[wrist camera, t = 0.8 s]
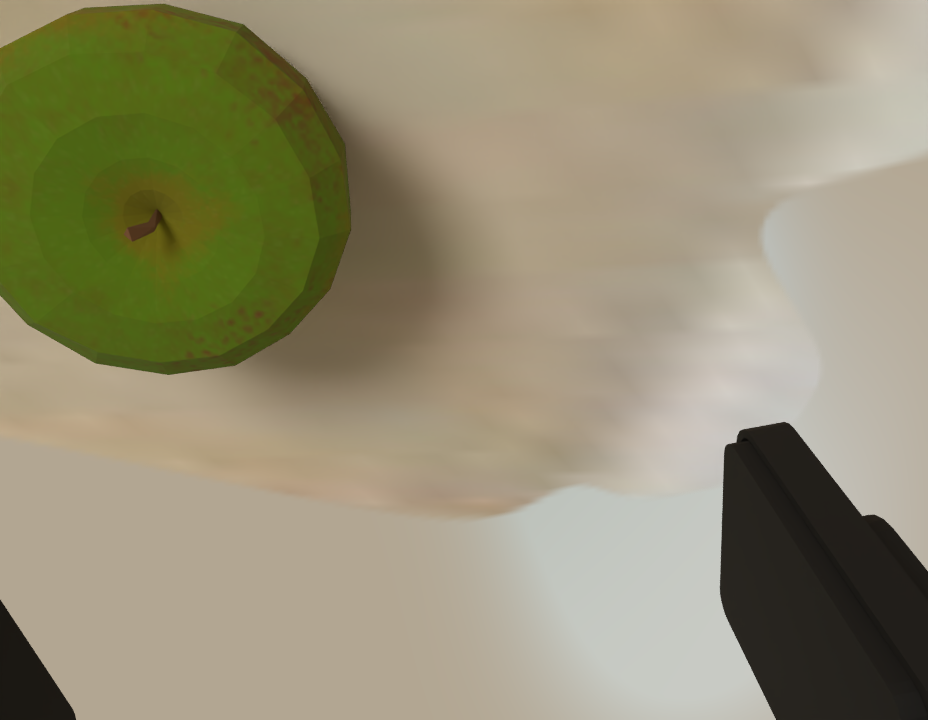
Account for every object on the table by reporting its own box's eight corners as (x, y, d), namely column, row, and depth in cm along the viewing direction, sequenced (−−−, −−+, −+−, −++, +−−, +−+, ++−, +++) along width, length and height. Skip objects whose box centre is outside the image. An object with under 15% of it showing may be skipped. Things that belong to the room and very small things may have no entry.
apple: (167, 314, 38) (98, 463, 28) (-23, 72, 31) (-195, 156, 22) (403, 196, 36) (415, 311, 26) (250, -85, 30) (193, -69, 20)
